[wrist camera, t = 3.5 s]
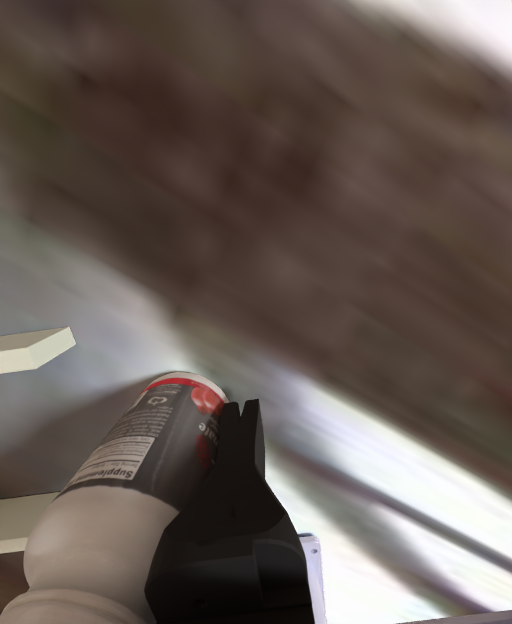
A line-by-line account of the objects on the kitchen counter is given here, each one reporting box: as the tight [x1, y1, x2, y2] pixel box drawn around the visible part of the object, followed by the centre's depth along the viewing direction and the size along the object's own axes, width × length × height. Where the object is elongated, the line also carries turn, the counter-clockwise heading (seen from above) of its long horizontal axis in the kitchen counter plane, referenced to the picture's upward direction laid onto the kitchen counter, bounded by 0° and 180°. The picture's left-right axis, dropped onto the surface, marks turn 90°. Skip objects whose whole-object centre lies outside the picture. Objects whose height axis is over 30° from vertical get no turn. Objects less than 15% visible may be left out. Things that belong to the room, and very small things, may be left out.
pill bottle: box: [0, 372, 229, 624], centre depth 9 cm, size 5×5×10 cm
